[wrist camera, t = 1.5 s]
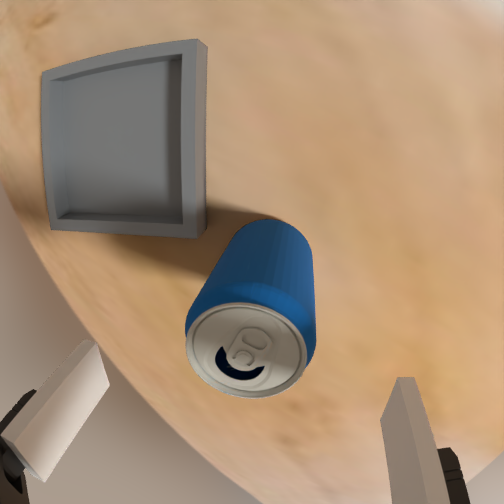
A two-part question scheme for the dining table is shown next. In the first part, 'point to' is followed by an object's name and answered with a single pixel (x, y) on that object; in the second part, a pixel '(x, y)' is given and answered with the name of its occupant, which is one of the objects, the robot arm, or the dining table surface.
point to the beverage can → (255, 313)
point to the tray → (127, 141)
